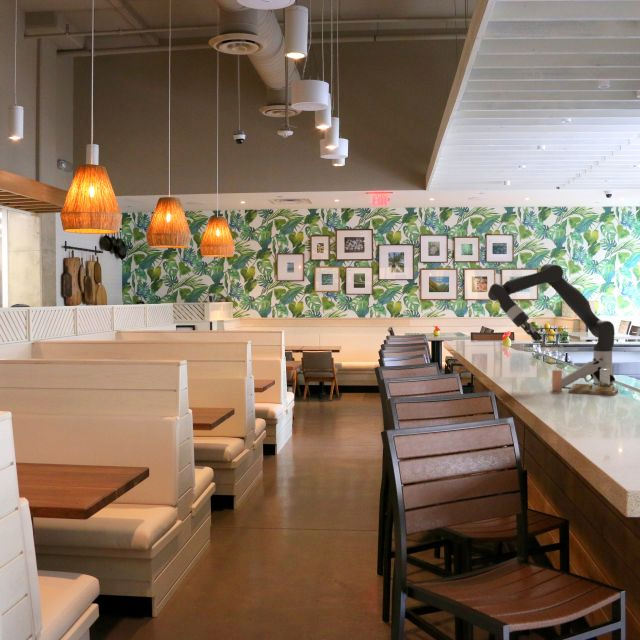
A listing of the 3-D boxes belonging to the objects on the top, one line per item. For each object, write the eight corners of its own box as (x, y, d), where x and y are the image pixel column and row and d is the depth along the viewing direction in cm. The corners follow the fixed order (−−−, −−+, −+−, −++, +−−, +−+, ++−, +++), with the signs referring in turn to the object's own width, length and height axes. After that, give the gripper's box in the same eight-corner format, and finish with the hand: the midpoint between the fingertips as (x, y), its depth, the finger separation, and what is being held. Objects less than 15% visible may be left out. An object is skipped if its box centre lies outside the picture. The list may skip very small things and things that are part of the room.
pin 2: (604, 389, 350) (604, 368, 350) (611, 390, 346) (611, 369, 346) (597, 390, 349) (597, 368, 348) (604, 391, 344) (604, 369, 344)
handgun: (620, 379, 369) (604, 353, 369) (571, 406, 372) (555, 380, 372) (617, 378, 373) (602, 352, 373) (569, 405, 376) (554, 379, 376)
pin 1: (557, 390, 362) (557, 369, 361) (563, 391, 357) (563, 370, 357) (550, 390, 360) (550, 370, 360) (556, 391, 356) (556, 370, 355)
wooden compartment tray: (568, 393, 350) (568, 385, 349) (574, 390, 361) (574, 383, 361) (613, 395, 339) (613, 388, 339) (618, 392, 350) (618, 385, 350)
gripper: (519, 310, 366) (542, 335, 361) (526, 310, 378) (547, 334, 373) (508, 320, 368) (530, 345, 363) (515, 320, 381) (536, 344, 376)
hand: (539, 339), depth 368 cm, fingers open, 8 cm apart
